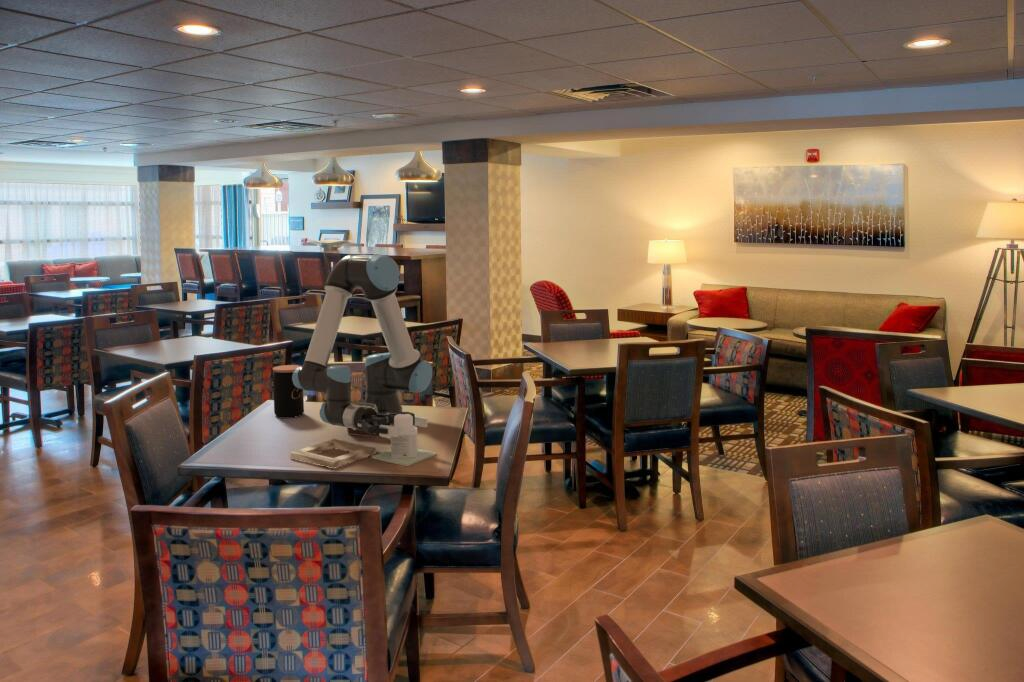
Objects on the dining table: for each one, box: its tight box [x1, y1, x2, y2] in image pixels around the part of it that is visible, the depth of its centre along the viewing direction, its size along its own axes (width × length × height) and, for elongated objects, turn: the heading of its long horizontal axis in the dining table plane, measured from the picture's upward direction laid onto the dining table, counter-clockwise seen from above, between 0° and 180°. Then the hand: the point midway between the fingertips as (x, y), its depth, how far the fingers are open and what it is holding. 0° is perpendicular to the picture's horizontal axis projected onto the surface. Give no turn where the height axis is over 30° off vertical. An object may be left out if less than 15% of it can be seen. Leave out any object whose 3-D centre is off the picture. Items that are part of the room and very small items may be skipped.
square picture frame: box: [290, 438, 377, 468], centre depth 233 cm, size 18×18×2 cm
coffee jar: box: [272, 364, 305, 418], centre depth 283 cm, size 11×11×18 cm
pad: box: [371, 448, 438, 467], centre depth 234 cm, size 14×14×1 cm
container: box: [390, 411, 419, 458], centre depth 233 cm, size 8×8×13 cm
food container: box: [346, 402, 378, 437], centre depth 260 cm, size 12×6×10 cm, turn 71°
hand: (412, 427), depth 231 cm, fingers open, 13 cm apart
